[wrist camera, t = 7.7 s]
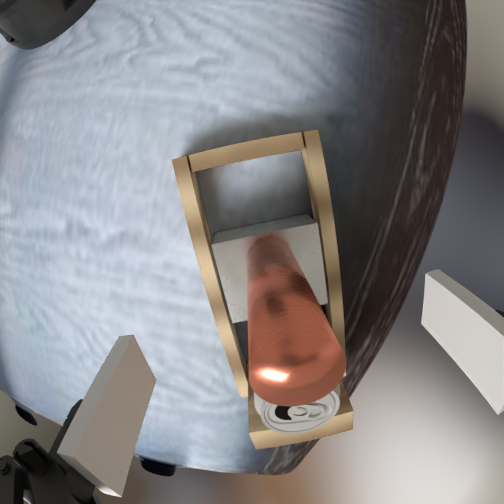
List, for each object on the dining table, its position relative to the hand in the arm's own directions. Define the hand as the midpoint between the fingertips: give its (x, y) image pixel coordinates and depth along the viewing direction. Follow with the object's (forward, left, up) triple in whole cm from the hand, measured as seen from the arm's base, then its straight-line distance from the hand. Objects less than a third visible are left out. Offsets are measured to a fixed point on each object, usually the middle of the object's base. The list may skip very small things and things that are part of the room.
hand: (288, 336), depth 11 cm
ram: (+2, 0, -15) cm, 15 cm away
